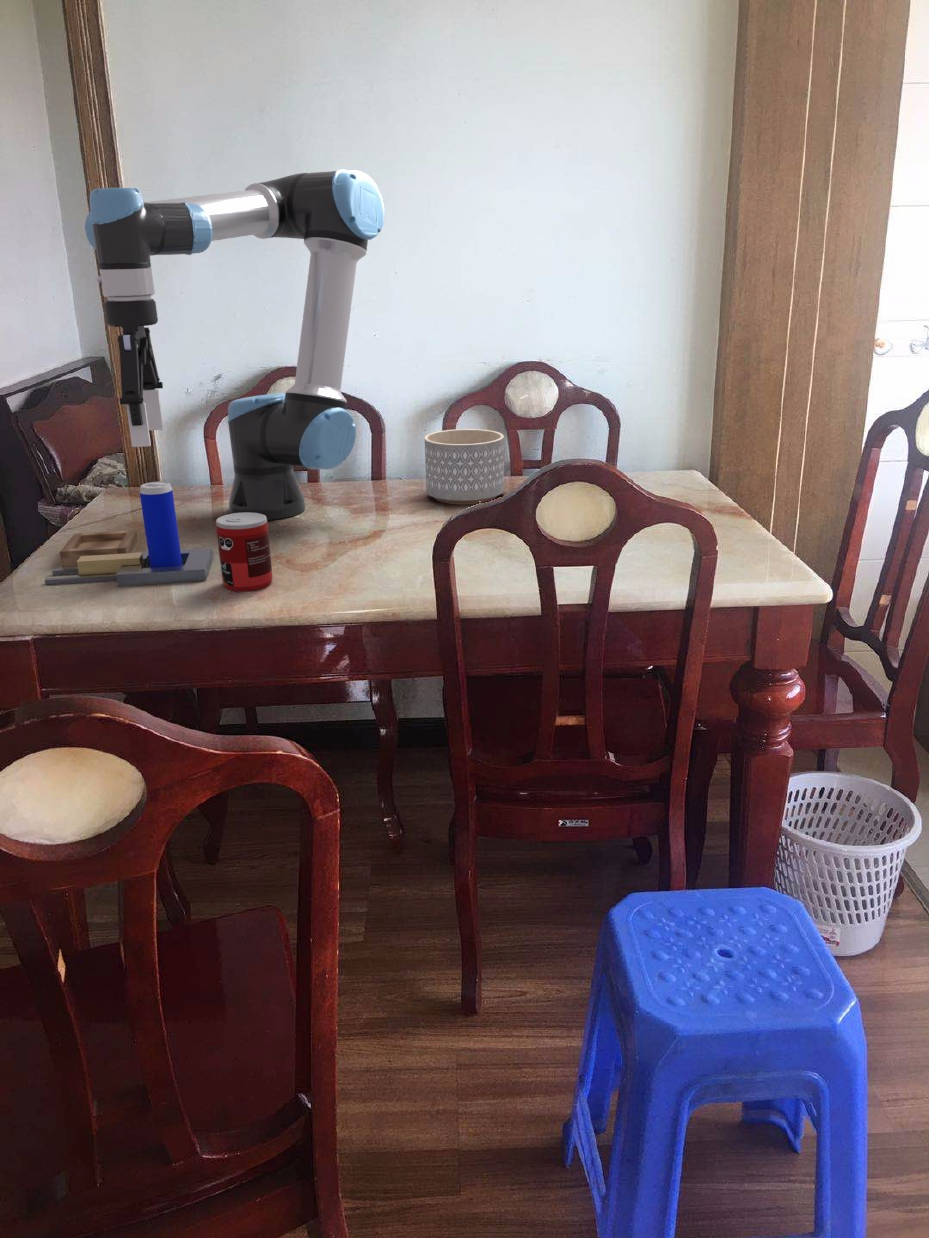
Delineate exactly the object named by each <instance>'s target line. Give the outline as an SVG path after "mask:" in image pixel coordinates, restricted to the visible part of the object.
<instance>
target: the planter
mask: <svg viewBox="0 0 929 1238" xmlns="http://www.w3.org/2000/svg"><path fill="white" fill-rule="evenodd" d="M423 441H424V460H425V461H424V463H425V467H424V468H425V488H426V490H425V491H426V494H427V495H428V496H429V497H432V498H434V499H435V500H436V501H438V502H441V503H444V504H451V505H475V503H477V504H483V503H486V502H485V501H488V502H490V501H489V500H491V499H493V500H494V499H496V498H497V496H500V495H502V494H503V493H505V436H504V434H503V433H501V432H499V431H495V430H489V429H478V428H460V429H459V428H458V429H446V430H439V431H435V432H431V433H429V434H426V435H425V436H424V440H423ZM479 501H481V502H479ZM491 501H492V500H491Z"/></svg>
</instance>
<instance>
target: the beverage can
mask: <svg viewBox="0 0 929 1238" xmlns="http://www.w3.org/2000/svg"><path fill="white" fill-rule="evenodd" d="M173 493H174V492H173V487H172V486H171V483H170V482H168V481H164V480H163V481H159V480H158V481H150V482H145V483H142V484H141V485H140V489H139V498H140V504H141V510H142V511H141V512H142V518H143V524H144V525H143V526H144V533H145V537H146V538H145V540H146V546H147V551H148V554H149V561H150V567H149V568H157V567H173V566H183V565H182V559H181V551H180V549H181V546H180V545H181V544H180V543H181V542H180V537H179V529H178V523H177V522H178V521H177V515H176V514H177V513H176V507H175V498H174V494H173Z"/></svg>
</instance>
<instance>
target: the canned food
mask: <svg viewBox="0 0 929 1238" xmlns="http://www.w3.org/2000/svg"><path fill="white" fill-rule="evenodd" d="M215 529H216V538H217V545H218V554H219V555H218V556H219V562H220V571H221V577H222V579H221V580H222V584H223V586H224V587H225V589H227V590H229V591H233V592H239V593H240V592H243V593H244V592H253V591H259V590H263V589H265V588H268V587H270V585H271V584H272V581H273V568H272V566H273V565H272V557H271V547H270V537H269V536H270V534H269V527H268V520H267V519H266V516H265V515H263V514H259V513H251V512H244V513H233V514H230V513H229V514H225V515H222V516H219V517H218V518H217V519H216V520H215Z"/></svg>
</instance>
